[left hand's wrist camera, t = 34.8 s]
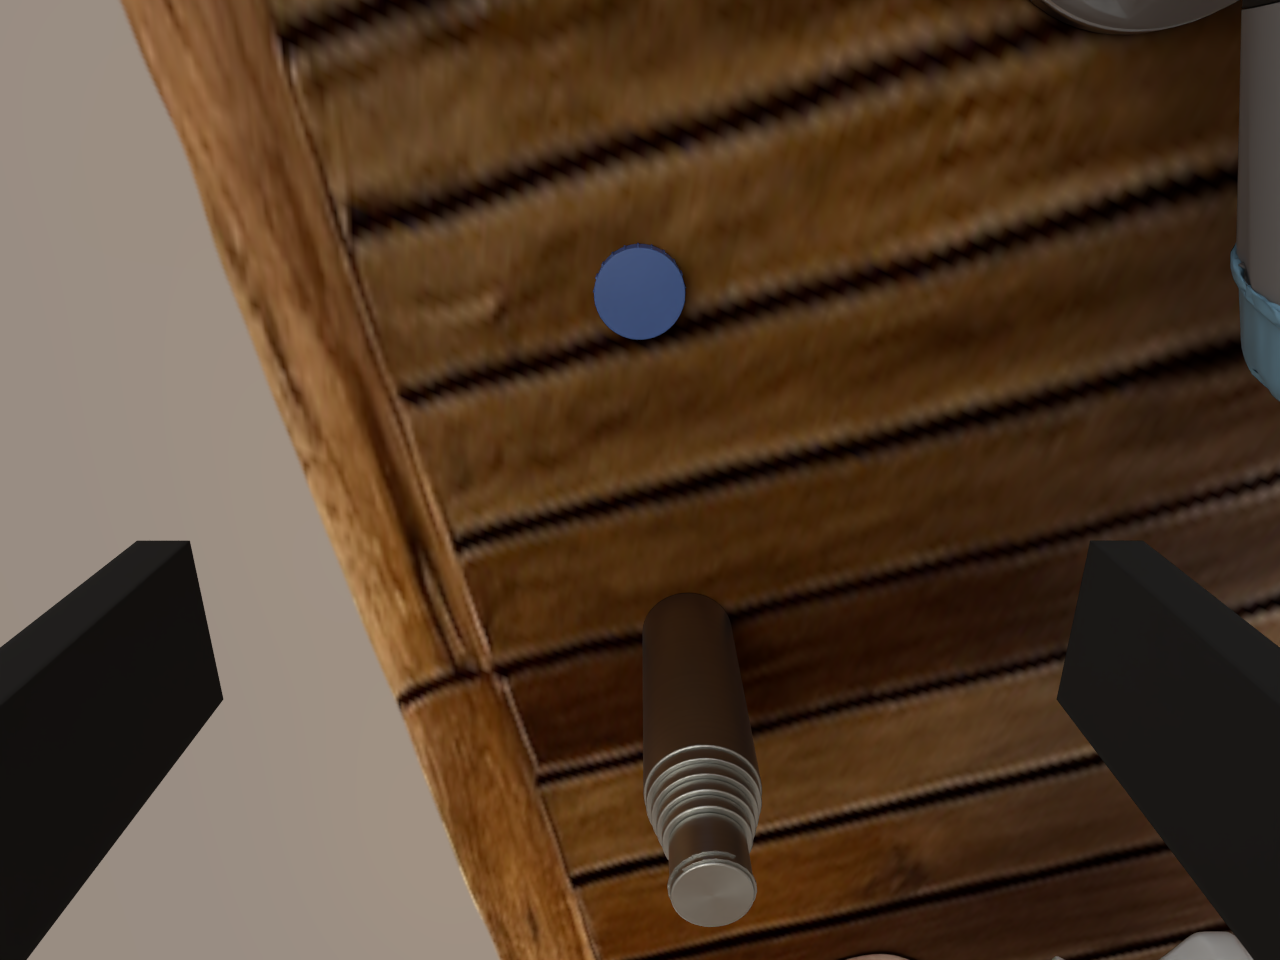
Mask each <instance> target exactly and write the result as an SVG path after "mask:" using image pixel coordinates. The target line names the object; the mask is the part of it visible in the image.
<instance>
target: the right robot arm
mask: <svg viewBox="0 0 1280 960" xmlns="http://www.w3.org/2000/svg"><path fill="white" fill-rule="evenodd" d="M1052 960H1064V959H1062V958H1060V957H1058V956H1055V957H1054V958H1053V959H1052ZM1159 960H1253V958H1252V957H1251V956H1250V954H1249V953H1248V952H1247V950H1246V949H1245V948H1244V946H1243V945H1242V944H1241V942H1240V941H1239V940H1238V939H1237V937H1236V936H1235V935H1233V934H1231V933H1229V932H1197V933H1195V934H1192V935H1191V936H1189V937H1188V938H1186V939H1185V940H1184V941H1182V942H1181V943H1180V944H1179V945H1177V946H1176V947H1175V948H1173V949H1172V950H1171V951H1170V952H1168V953H1167V954H1166V955H1164V956H1163V957H1162V958H1160V959H1159Z"/></svg>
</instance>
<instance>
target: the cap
mask: <svg viewBox="0 0 1280 960" xmlns="http://www.w3.org/2000/svg"><path fill="white" fill-rule="evenodd" d="M682 275H683V274H682V271H681V270H679V268H678V266H677V264H676V262H675V259H672V258H671V257H670V256H669V255H668V254H667V253H666V252H665V250H661V249H659V248H657V247H654V246H652V244H651V245H647V244H639V243H637V244H633V245H628V246H625V245H624V247H623V248H620V249H618V250H617V251H615V252H612V254H611V255H610V256H609V257H608V258H607V259H606V261H605V262H604V261H603V263H602V267H601V268H600V271H599V273H598V274H597V275H596V278H595V279H596V283H595V287H594V290H593V292H594V299H595V306H596V308H597V311H598V313H599V315H600V318H601V319H602V320H603V322H604V323H605V324H606V325H607V326H608V327H609V328H610V329H611V330H612V331H614V332H615V333H617V334H619V335H621V336H623V337H626V338H630V339H636V340H644V339H650V338H654V337H656V336H659V335H661V334H662V333H664V332H666V331H667V330H668V329H669V328H671V327H672V326H673V325H674V323H675V322H676V321H677V319H678V318H679V316H680V315H681V312H682V309H683V306H684V303H685V289H686V286H685V283H684V281H683V278H682Z"/></svg>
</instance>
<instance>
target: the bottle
mask: <svg viewBox="0 0 1280 960" xmlns="http://www.w3.org/2000/svg"><path fill="white" fill-rule="evenodd" d="M643 780H644V801H645V805H646V810H647V815H648V818H649V820H650V822H651V824H652V826H653V829H654V831H655V833H656V835H657V837H658V840H659V842H660V844H661V846H662V847H663V851H664V853H665V855H666V857H667V859H668V860H669V874H670V875H669V880H668V884H667V885H668V894H669V897H670V899H671V902H672V905H673V907H674V909H675V910H676V912H677V913H678V914H679V915H680V916H681V917H682V918H684V919H685V920H687V921H689V922H691V923H693V924H696V925H700V926H707V927H717V926H723V925H727V924H730V923H733V922H735V921H737V920H738V919H740V918H741V917H743V916H744V915H745V914H746V913H747V912H748V911H749V909H750V908H751V906H752V904H753V901H754V900H755V897H756V893H757V887H756V881H755V878H754V876H753V874H752V869H751V862H750V856H749V854H750V852H751V849H752V845H753V839H754V836H755V832H756V827H757V824H758V820H759V815H760V812H761V807H762V798H761V796H762V785H761V779H760V774H759V769H758V763H757V758H756V753H755V748H754V743H753V737H752V732H751V727H750V722H749V716H748V711H747V706H746V701H745V695H744V690H743V685H742V680H741V674H740V669H739V664H738V659H737V654H736V648H735V643H734V638H733V633H732V627H731V622H730V619H729V617H728V615H727V613H726V612H725V610H724V609H723V608H722V607H721V606H720V605H719V604H718V603H717V602H715V601H714V600H712V599H710V598H708V597H706V596H703V595H700V594H694V593H682V594H676V595H673V596H670V597H668V598H665V599H664V600H662V601H660V602H659V603H658V604H656V605H655V606H654V607H653V608H652V609H651V611H650V612H649V614H648V615H647V617H646V619H645V622H644V626H643Z"/></svg>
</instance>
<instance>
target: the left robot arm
mask: <svg viewBox="0 0 1280 960" xmlns="http://www.w3.org/2000/svg"><path fill="white" fill-rule="evenodd" d="M1030 1H1031V2H1032V3H1034V4H1035V5H1036V6H1037V7H1039V8H1040V9H1042V10H1043V11H1044V12H1046V13H1047V14H1049V15H1051V16H1052V17H1054V18H1056V19H1058V20H1060V21H1062V22H1064V23H1066V24H1069V25H1071V26H1074V27H1076V28H1080V29H1083V30H1087V31H1091V32H1096V33H1103V34H1115V35H1129V34H1142V33H1148V32H1153V31H1159V30H1163V29H1167V28H1172V27H1176V26H1179V25H1183V24H1186V23H1190V22H1193V21H1196V20H1198V19H1201V18H1203V17H1206V16H1208V15H1211V14H1213V13H1215V12H1217V11H1219V10H1221V9H1223V8H1225V7H1227V6H1229V5H1231V4H1233V3H1235V2H1237V1H1239V0H1030ZM1248 7H1249V8H1248ZM1242 8H1246V9H1243V10H1242V14H1241V59H1240V104H1239V148H1238V193H1237V237H1236V244H1235V246H1234V247H1233V249H1232V251H1231V257H1230V265H1231V272H1232V275H1233V279H1234V281H1235V283H1236V284H1237V286H1238V288H1239V306H1240V329H1241V346H1242V352H1243V355H1244V358H1245V361H1246V364H1247V366H1248V368H1249V370H1250V371H1251V373H1252V374H1253V375H1254V376H1255V377H1256V378H1257V379H1258V380H1259V381H1260V382H1261V383H1262V384H1263V385H1264V386H1266V387H1267V388H1268V389H1269V391H1270V393H1271V394H1272V396H1274V397H1275V398H1276V399H1277V400H1278V401H1280V0H1242ZM222 700H223V695H222V691H221V686H220V681H219V677H218V672H217V667H216V662H215V658H214V653H213V648H212V644H211V639H210V634H209V629H208V625H207V620H206V615H205V611H204V606H203V601H202V596H201V592H200V587H199V582H198V578H197V573H196V568H195V563H194V559H193V554H192V549H191V544H190V541H136V542H135V543H134V544H132V545H131V546H130V547H129V548H127V549H126V550H125V551H123V552H122V553H121V554H120V555H118V556H117V557H116V558H114V559H113V560H112V561H111V562H109V563H108V564H107V565H106V566H104V567H103V568H102V569H100V570H99V571H98V572H97V573H95V574H94V575H93V576H91V577H90V578H89V579H88V580H86V581H85V582H84V583H83V584H81V585H80V586H79V587H77V588H76V589H75V590H73V591H72V592H71V593H70V594H68V595H67V596H66V597H65V598H63V599H62V600H61V601H59V602H58V603H57V604H56V605H54V606H53V607H52V608H50V609H49V610H48V611H47V612H45V613H44V614H43V615H41V616H40V617H39V618H38V619H36V620H35V621H34V622H32V623H31V624H30V625H29V626H27V627H26V628H25V629H24V630H22V631H21V632H20V633H18V634H17V635H16V636H15V637H13V638H12V639H11V640H9V641H8V642H7V643H6V644H4V645H3V646H2V647H0V960H27V958H28V957H29V956H30V954H31V953H32V952H33V950H34V949H35V948H36V946H37V945H38V944H39V942H40V941H41V940H42V938H43V937H44V936H45V935H46V933H47V932H48V931H49V929H50V928H51V927H52V925H53V924H54V923H55V921H56V920H57V919H58V917H59V916H60V915H61V913H62V912H63V911H64V909H65V908H66V907H67V905H68V904H69V903H70V901H71V900H72V899H73V898H74V896H75V895H76V894H77V892H78V891H79V890H80V888H81V887H82V886H83V884H84V883H85V882H86V880H87V879H88V878H89V876H90V875H91V874H92V872H93V871H94V870H95V868H96V867H97V866H98V864H99V863H100V862H101V860H102V859H103V858H104V857H105V855H106V854H107V853H108V851H109V850H110V849H111V847H112V846H113V845H114V843H115V842H116V841H117V839H118V838H119V837H120V835H121V834H122V833H123V831H124V830H125V829H126V827H127V826H128V825H129V823H130V822H131V821H132V819H133V818H134V817H135V815H136V814H137V813H138V812H139V810H140V809H141V808H142V806H143V805H144V804H145V802H146V801H147V800H148V798H149V797H150V796H151V794H152V793H153V792H154V790H155V789H156V788H157V786H158V785H159V784H160V782H161V781H162V780H163V778H164V777H165V776H166V775H167V773H168V772H169V770H170V769H171V768H172V767H173V765H174V764H175V763H176V761H177V760H178V759H179V757H180V756H181V755H182V753H183V752H184V751H185V749H186V748H187V747H188V745H189V744H190V743H191V741H192V740H193V739H194V737H195V736H196V735H197V734H198V732H199V731H200V730H201V728H202V727H203V726H204V724H205V723H206V722H207V720H208V719H209V718H210V716H211V715H212V714H213V712H214V711H215V710H216V708H217V707H218V706H219V704H220V703H221V702H222ZM1057 700H1058V702H1059V703H1060V704H1061V706H1062V707H1063V708H1064V710H1065V711H1066V712H1067V714H1068V715H1069V716H1070V718H1071V719H1072V720H1073V722H1074V723H1075V724H1076V726H1077V727H1078V728H1079V730H1080V731H1081V732H1082V734H1083V735H1084V736H1085V737H1086V739H1087V740H1088V741H1089V743H1090V744H1091V745H1092V747H1093V748H1094V749H1095V751H1096V752H1097V753H1098V755H1099V756H1100V757H1101V759H1102V760H1103V761H1104V763H1105V764H1106V765H1107V767H1108V768H1109V769H1110V771H1111V772H1112V773H1113V775H1114V776H1115V777H1116V778H1117V780H1118V781H1119V782H1120V784H1121V785H1122V786H1123V788H1124V789H1125V790H1126V792H1127V793H1128V794H1129V796H1130V797H1131V798H1132V800H1133V801H1134V802H1135V804H1136V805H1137V806H1138V808H1139V809H1140V810H1141V812H1142V813H1143V814H1144V816H1145V817H1146V818H1147V819H1148V821H1149V822H1150V823H1151V825H1152V826H1153V827H1154V829H1155V830H1156V831H1157V833H1158V834H1159V835H1160V837H1161V838H1162V839H1163V841H1164V842H1165V843H1166V845H1167V846H1168V847H1169V849H1170V850H1171V851H1172V853H1173V854H1174V855H1175V857H1176V858H1177V859H1178V860H1179V862H1180V863H1181V864H1182V866H1183V867H1184V868H1185V870H1186V871H1187V872H1188V874H1189V875H1190V876H1191V878H1192V879H1193V880H1194V882H1195V883H1196V884H1197V886H1198V887H1199V888H1200V890H1201V891H1202V892H1203V894H1204V895H1205V896H1206V898H1207V899H1208V900H1209V901H1210V903H1211V904H1212V905H1213V907H1214V908H1215V909H1216V911H1217V912H1218V913H1219V915H1220V916H1221V917H1222V919H1223V920H1224V921H1225V923H1226V924H1227V925H1228V927H1229V928H1230V929H1231V931H1232V932H1233V933H1234V935H1235V936H1236V937H1237V939H1238V940H1239V941H1240V942H1241V944H1242V945H1243V946H1244V948H1245V949H1246V950H1247V952H1248V953H1249V954H1250V956H1251V957H1252V958H1253V960H1280V647H1278V646H1277V645H1276V644H1274V643H1273V642H1272V641H1271V640H1269V639H1268V638H1267V637H1265V636H1264V635H1263V634H1262V633H1260V632H1259V631H1258V630H1256V629H1255V628H1254V627H1253V626H1251V625H1250V624H1249V623H1248V622H1246V621H1245V620H1244V619H1242V618H1241V617H1240V616H1239V615H1237V614H1236V613H1235V612H1233V611H1232V610H1231V609H1230V608H1228V607H1227V606H1226V605H1224V604H1223V603H1222V602H1221V601H1219V600H1218V599H1217V598H1215V597H1214V596H1213V595H1212V594H1210V593H1209V592H1208V591H1207V590H1205V589H1204V588H1203V587H1201V586H1200V585H1199V584H1198V583H1196V582H1195V581H1194V580H1192V579H1191V578H1190V577H1189V576H1187V575H1186V574H1185V573H1183V572H1182V571H1181V570H1180V569H1178V568H1177V567H1176V566H1174V565H1173V564H1172V563H1171V562H1169V561H1168V560H1167V559H1166V558H1164V557H1163V556H1162V555H1160V554H1159V553H1158V552H1157V551H1155V550H1154V549H1153V548H1151V547H1150V546H1149V545H1148V544H1146V543H1145V542H1144V541H1090V544H1089V549H1088V554H1087V559H1086V563H1085V568H1084V573H1083V577H1082V582H1081V587H1080V592H1079V596H1078V601H1077V606H1076V611H1075V615H1074V620H1073V625H1072V629H1071V634H1070V639H1069V644H1068V648H1067V653H1066V658H1065V662H1064V667H1063V672H1062V677H1061V681H1060V686H1059V691H1058V695H1057Z"/></svg>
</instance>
